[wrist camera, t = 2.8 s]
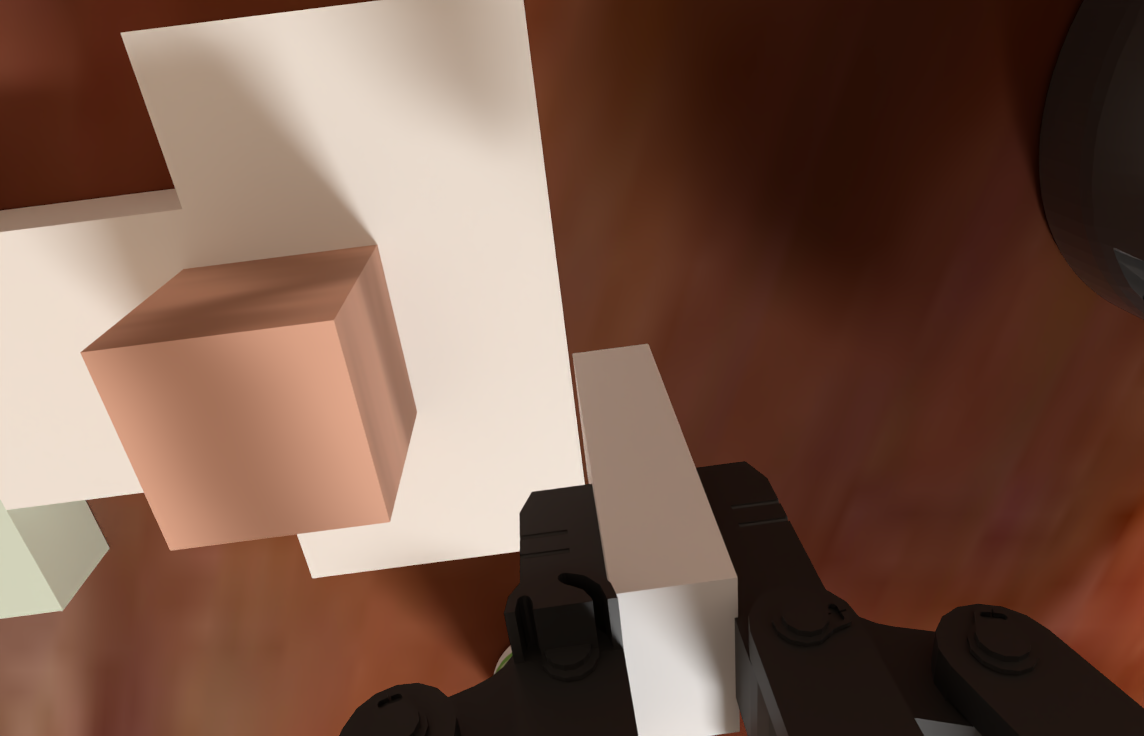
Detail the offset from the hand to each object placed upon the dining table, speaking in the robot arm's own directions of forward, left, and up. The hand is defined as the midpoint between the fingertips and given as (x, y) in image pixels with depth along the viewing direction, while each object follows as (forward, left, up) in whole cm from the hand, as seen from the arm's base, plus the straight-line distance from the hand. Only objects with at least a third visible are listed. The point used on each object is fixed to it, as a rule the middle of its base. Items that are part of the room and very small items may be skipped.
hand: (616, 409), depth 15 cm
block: (+8, 0, -6) cm, 10 cm away
